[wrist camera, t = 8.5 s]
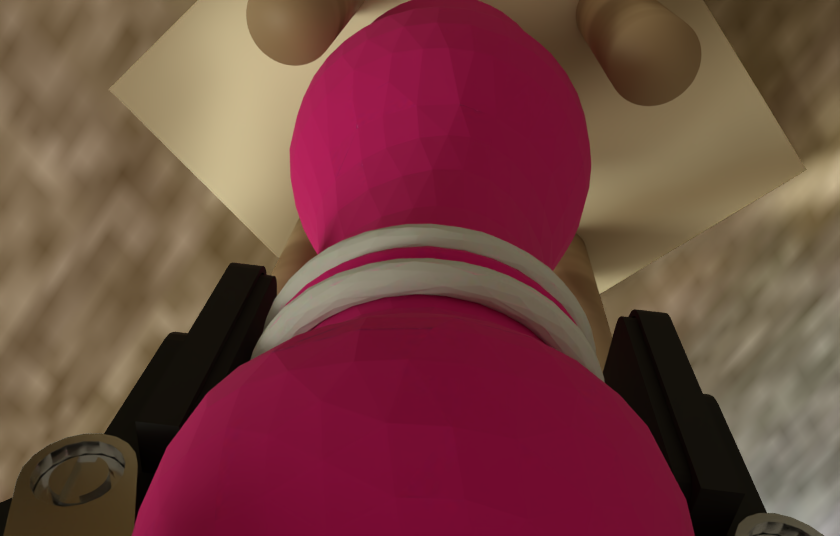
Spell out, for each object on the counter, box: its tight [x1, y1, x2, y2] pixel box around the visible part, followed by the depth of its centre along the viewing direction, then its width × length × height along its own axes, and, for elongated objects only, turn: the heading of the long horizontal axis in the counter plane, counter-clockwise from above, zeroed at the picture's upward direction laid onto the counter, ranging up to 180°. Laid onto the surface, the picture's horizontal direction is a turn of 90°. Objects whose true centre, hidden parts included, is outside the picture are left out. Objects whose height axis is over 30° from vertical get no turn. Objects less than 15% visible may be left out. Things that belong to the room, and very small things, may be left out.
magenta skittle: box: [132, 0, 695, 536], centre depth 13 cm, size 7×7×20 cm
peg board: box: [109, 0, 806, 373], centre depth 21 cm, size 16×16×8 cm
